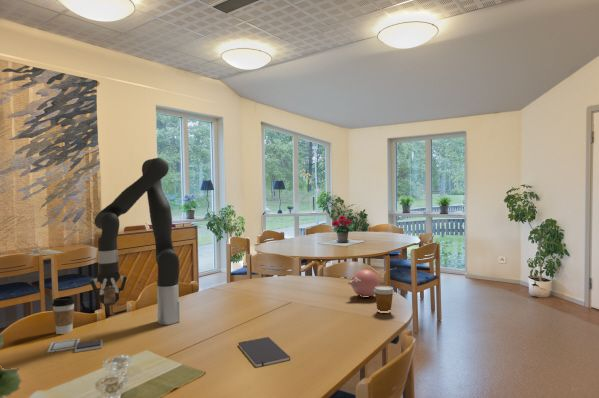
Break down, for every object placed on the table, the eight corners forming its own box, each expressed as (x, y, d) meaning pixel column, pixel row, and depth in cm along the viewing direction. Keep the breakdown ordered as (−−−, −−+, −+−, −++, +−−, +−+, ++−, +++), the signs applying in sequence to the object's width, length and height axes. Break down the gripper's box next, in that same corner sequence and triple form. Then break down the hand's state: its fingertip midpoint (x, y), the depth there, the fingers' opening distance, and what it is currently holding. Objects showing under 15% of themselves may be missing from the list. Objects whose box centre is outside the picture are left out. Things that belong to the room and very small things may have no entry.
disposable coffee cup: (392, 309, 192) (392, 285, 192) (395, 315, 182) (395, 290, 182) (373, 309, 193) (373, 285, 192) (375, 315, 183) (374, 290, 183)
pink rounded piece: (339, 297, 215) (339, 269, 215) (367, 292, 225) (367, 266, 224) (356, 303, 202) (356, 274, 201) (385, 298, 211) (385, 270, 211)
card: (80, 339, 157) (80, 338, 157) (77, 348, 148) (77, 347, 148) (51, 343, 152) (51, 342, 152) (46, 352, 143) (46, 351, 143)
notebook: (290, 361, 135) (268, 340, 154) (290, 356, 135) (268, 336, 154) (256, 368, 130) (237, 346, 149) (256, 364, 130) (237, 342, 149)
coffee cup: (49, 336, 159) (48, 301, 159) (56, 329, 168) (55, 295, 167) (72, 334, 162) (71, 299, 161) (78, 327, 170) (77, 294, 170)
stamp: (115, 301, 160) (115, 286, 160) (115, 304, 156) (115, 289, 156) (104, 303, 158) (103, 287, 158) (103, 306, 154) (103, 290, 154)
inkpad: (102, 342, 153) (102, 338, 153) (101, 348, 147) (101, 344, 147) (76, 346, 149) (76, 342, 149) (74, 352, 144) (74, 348, 144)
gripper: (127, 257, 163) (128, 297, 164) (89, 261, 157) (90, 302, 158) (127, 260, 157) (128, 302, 157) (87, 264, 150) (89, 307, 151)
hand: (109, 302), depth 157 cm, fingers closed on stamp, 4 cm apart
